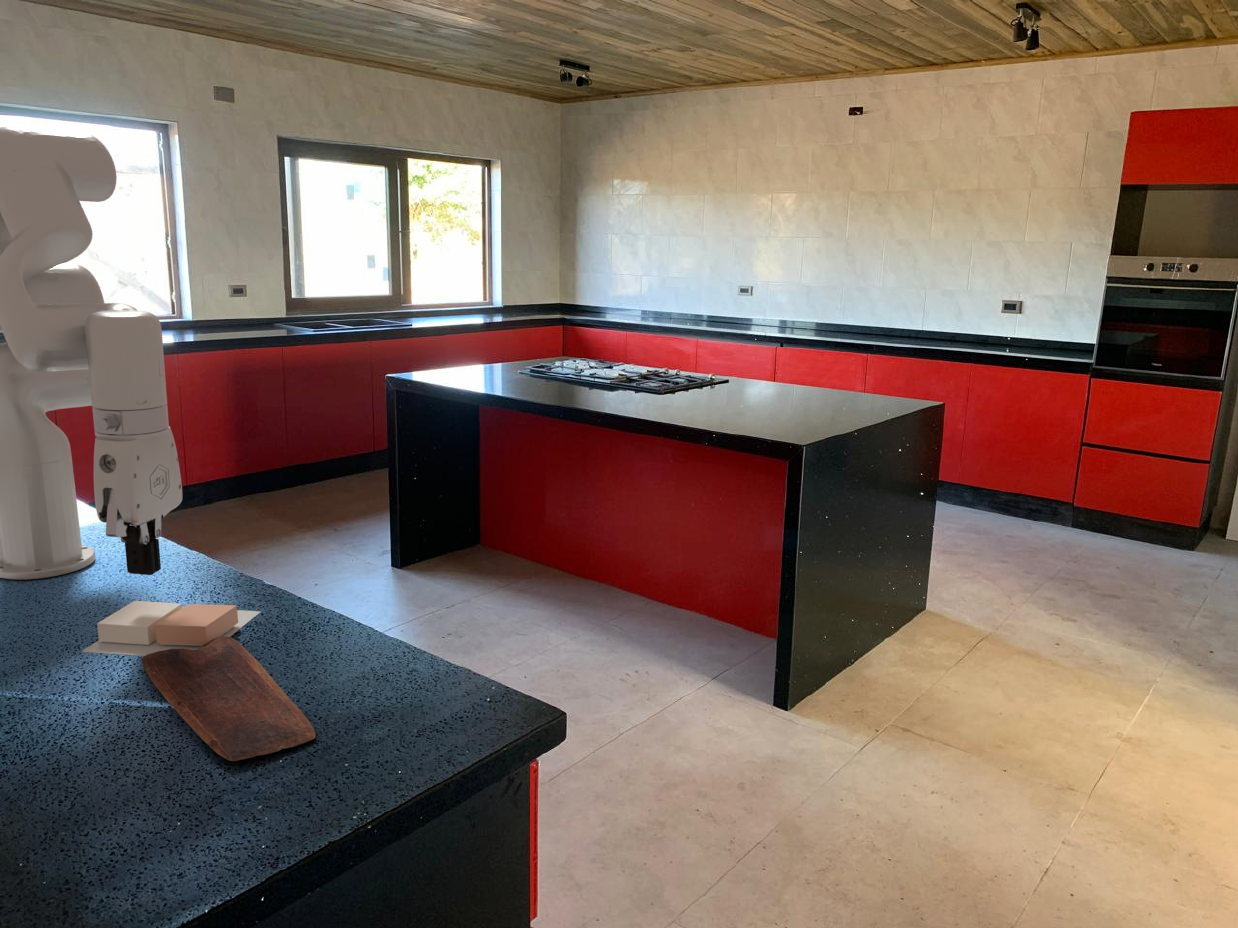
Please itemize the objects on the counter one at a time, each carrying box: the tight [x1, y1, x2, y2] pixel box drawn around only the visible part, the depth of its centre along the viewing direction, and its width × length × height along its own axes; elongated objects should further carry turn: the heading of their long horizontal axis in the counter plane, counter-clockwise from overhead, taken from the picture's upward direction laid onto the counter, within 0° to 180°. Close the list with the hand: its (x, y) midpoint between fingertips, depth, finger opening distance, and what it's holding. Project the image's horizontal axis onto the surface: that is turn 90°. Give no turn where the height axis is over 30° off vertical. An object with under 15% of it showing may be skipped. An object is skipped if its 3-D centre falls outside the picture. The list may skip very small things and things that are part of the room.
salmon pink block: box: [155, 603, 238, 646], centre depth 106 cm, size 6×2×7 cm
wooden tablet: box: [140, 636, 317, 762], centre depth 92 cm, size 26×2×10 cm
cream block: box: [96, 600, 183, 646], centre depth 106 cm, size 6×2×7 cm
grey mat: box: [81, 606, 261, 657], centre depth 107 cm, size 14×14×1 cm
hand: (144, 571), depth 107 cm, fingers closed
